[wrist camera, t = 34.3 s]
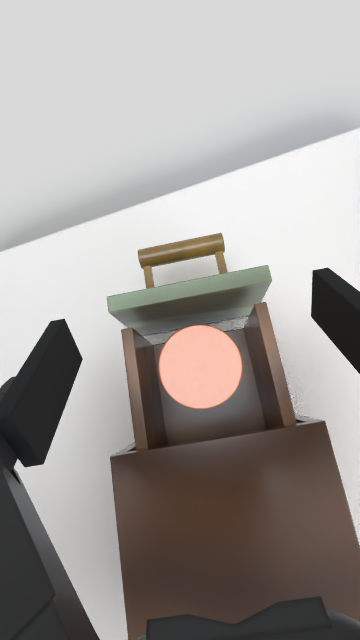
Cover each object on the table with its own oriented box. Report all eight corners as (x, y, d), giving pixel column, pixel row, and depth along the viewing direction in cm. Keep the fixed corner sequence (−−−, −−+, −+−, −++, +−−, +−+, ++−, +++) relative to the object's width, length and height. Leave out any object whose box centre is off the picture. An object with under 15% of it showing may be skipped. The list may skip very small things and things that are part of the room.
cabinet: (147, 434, 28) (109, 456, 18) (283, 411, 27) (325, 420, 17) (172, 625, 24) (142, 790, 14) (330, 604, 24) (420, 763, 13)
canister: (182, 408, 26) (164, 416, 17) (173, 354, 28) (152, 332, 18) (237, 399, 26) (251, 401, 17) (225, 345, 27) (232, 317, 18)
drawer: (130, 279, 31) (99, 236, 23) (241, 257, 30) (252, 204, 22) (156, 473, 26) (130, 509, 18) (288, 452, 26) (325, 479, 17)
